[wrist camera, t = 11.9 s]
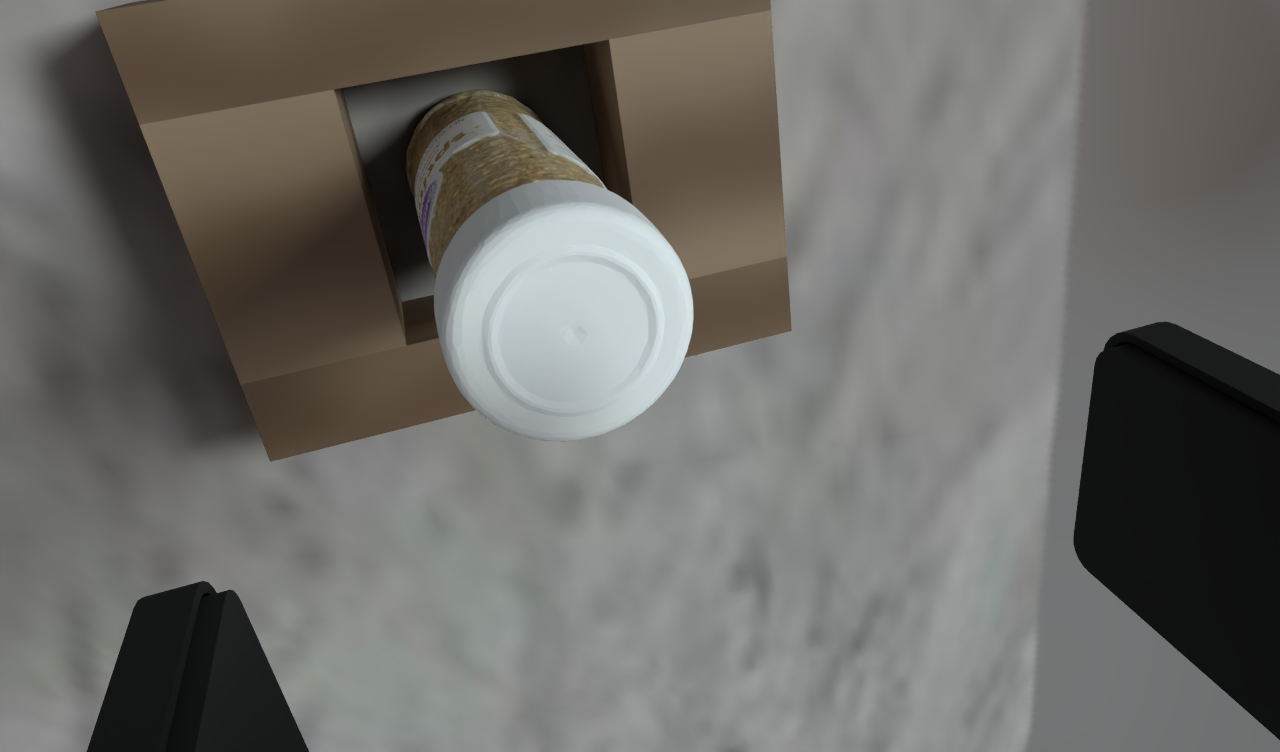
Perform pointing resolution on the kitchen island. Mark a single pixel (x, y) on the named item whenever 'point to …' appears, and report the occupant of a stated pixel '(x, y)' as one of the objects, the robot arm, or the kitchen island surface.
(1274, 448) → the robot arm
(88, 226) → the kitchen island surface
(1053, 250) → the kitchen island surface
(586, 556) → the kitchen island surface
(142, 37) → the walnut holder
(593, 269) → the sprinkles bottle
